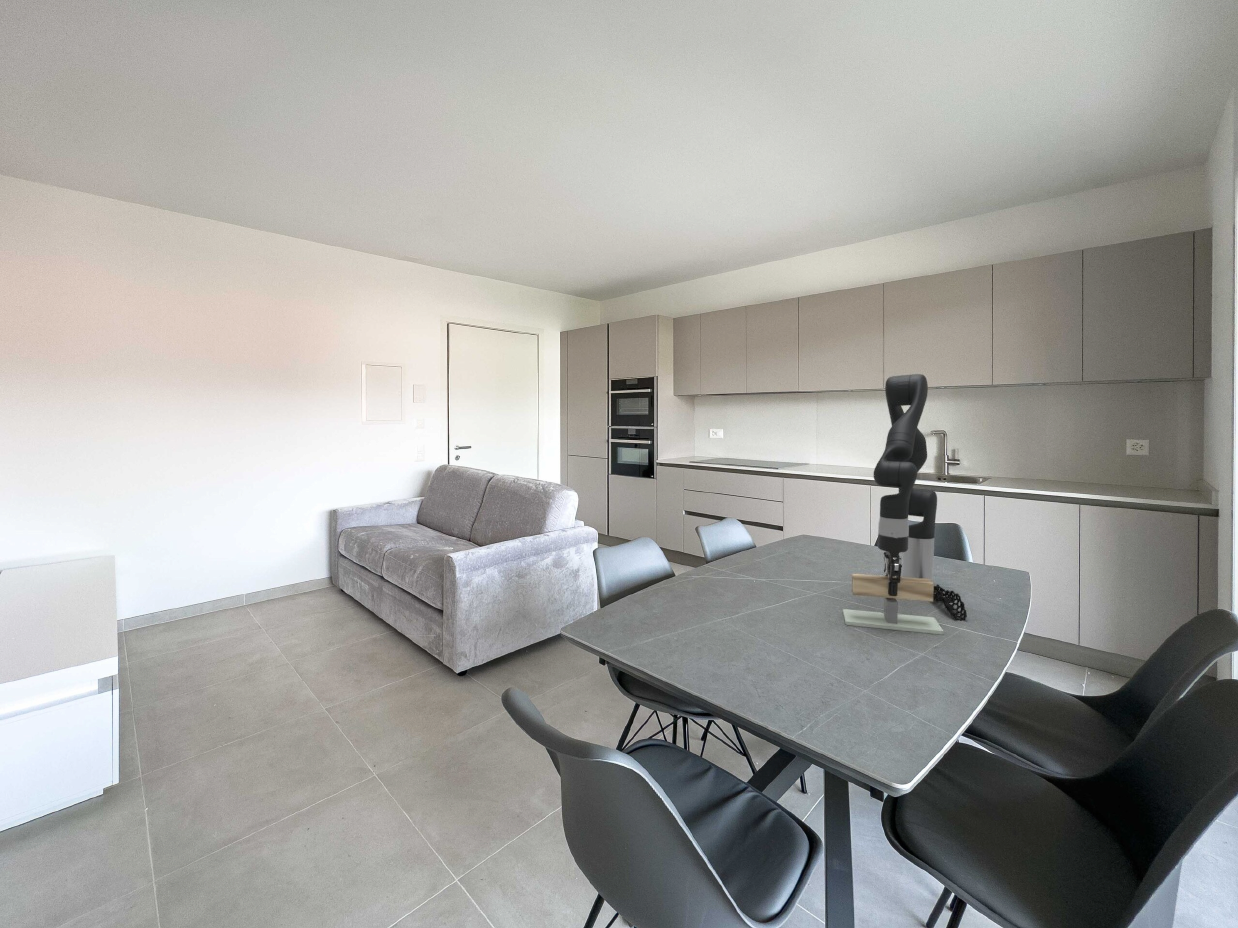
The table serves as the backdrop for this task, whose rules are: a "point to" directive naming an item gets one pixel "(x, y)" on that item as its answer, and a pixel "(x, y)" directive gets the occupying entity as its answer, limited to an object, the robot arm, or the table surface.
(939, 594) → the decorative element
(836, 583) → the table surface
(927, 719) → the table surface
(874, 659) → the table surface
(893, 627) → the fulcrum
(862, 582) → the plank
